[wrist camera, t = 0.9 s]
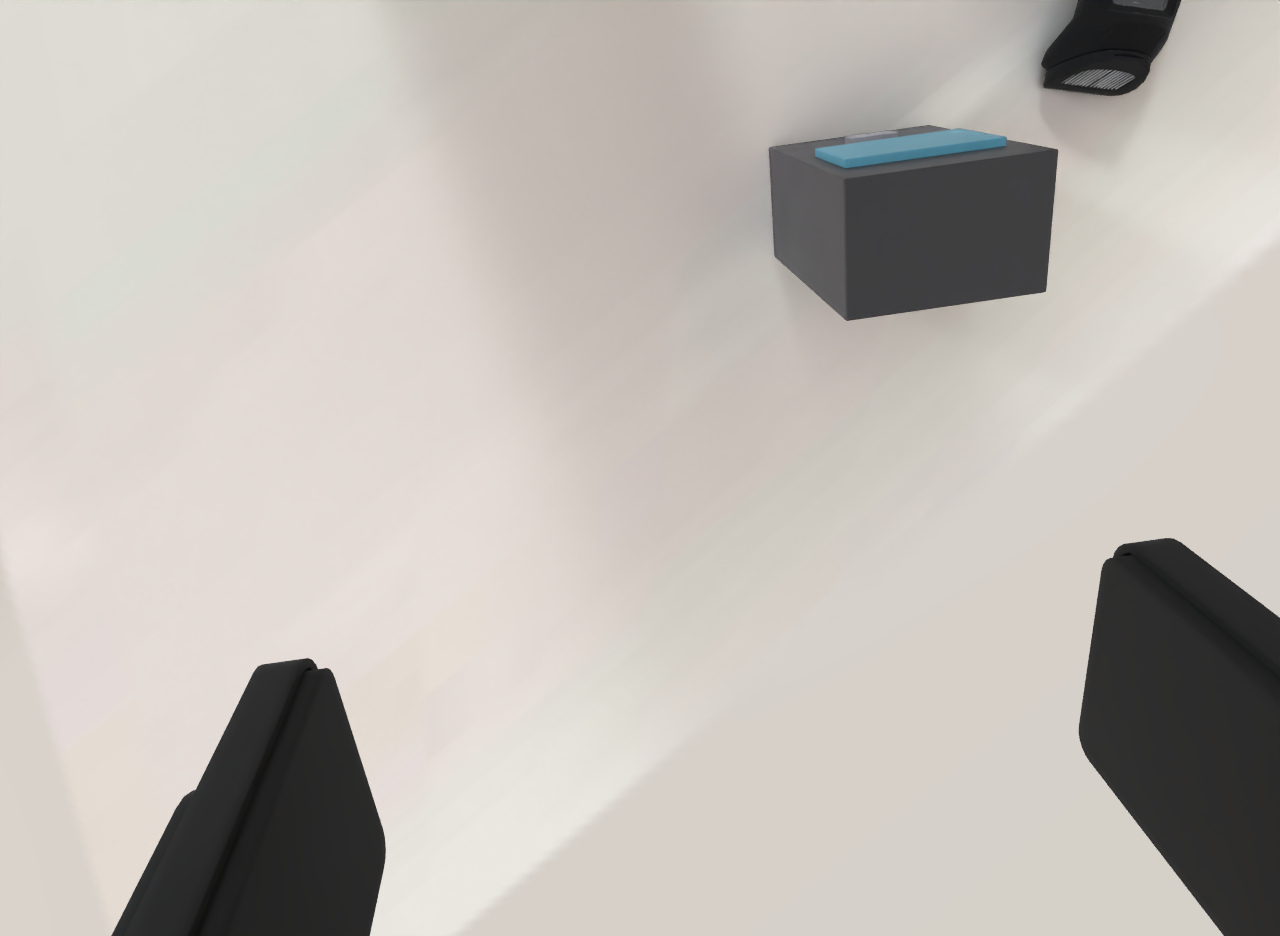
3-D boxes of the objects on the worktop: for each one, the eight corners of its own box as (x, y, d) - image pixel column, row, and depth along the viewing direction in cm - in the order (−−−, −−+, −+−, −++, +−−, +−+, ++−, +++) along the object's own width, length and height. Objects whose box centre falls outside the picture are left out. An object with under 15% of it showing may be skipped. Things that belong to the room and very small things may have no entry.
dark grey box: (768, 139, 32) (843, 169, 23) (930, 117, 32) (1060, 139, 24) (774, 256, 33) (846, 321, 25) (926, 235, 34) (1046, 292, 26)
